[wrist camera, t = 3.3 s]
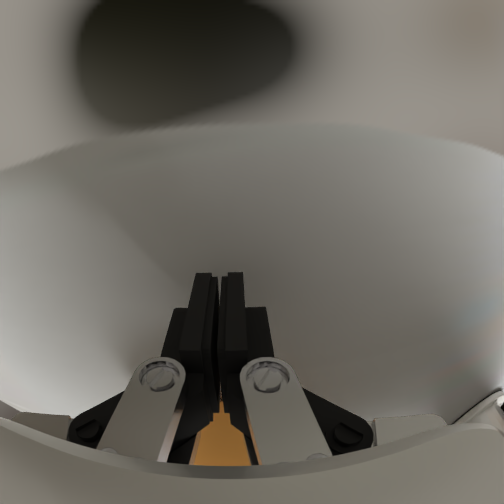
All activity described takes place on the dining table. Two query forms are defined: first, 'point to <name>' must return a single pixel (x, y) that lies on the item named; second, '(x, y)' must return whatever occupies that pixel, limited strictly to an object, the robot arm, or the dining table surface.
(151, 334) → the dining table surface
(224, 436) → the ball
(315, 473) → the robot arm
